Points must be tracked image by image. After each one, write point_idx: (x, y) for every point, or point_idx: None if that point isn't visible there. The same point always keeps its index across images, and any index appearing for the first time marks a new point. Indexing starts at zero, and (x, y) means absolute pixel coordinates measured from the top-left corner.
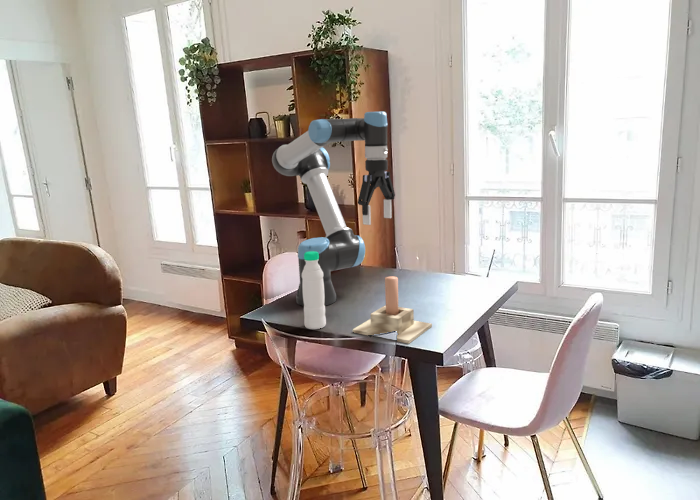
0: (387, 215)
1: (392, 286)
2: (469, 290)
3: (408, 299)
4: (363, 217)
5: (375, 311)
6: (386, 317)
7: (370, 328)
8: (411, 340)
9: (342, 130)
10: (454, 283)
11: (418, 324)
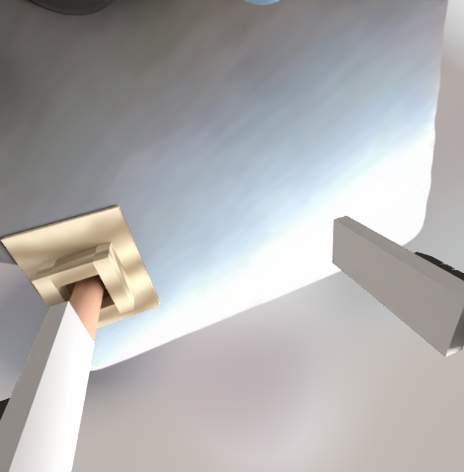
0: (343, 252)
1: None
2: (352, 218)
3: (250, 169)
4: (34, 358)
5: (53, 275)
6: None
7: (43, 260)
8: None
9: None
10: (381, 168)
11: (139, 296)
